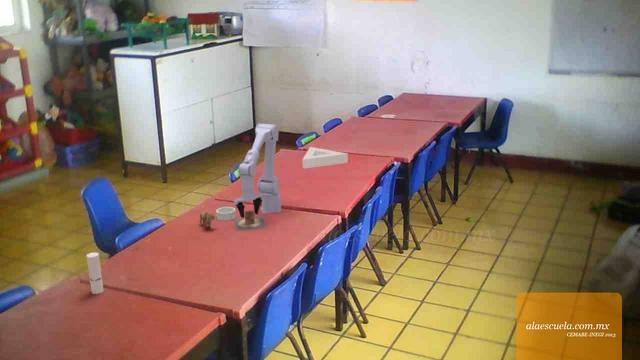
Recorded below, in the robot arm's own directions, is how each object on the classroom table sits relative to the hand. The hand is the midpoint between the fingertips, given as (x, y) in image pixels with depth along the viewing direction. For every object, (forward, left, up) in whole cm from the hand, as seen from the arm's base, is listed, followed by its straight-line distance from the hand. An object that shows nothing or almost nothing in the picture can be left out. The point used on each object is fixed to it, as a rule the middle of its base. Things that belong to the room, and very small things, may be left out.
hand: (249, 215), depth 307 cm
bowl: (+10, -12, -5) cm, 16 cm away
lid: (0, 0, -4) cm, 4 cm away
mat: (0, 0, -5) cm, 5 cm away
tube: (+65, +52, -5) cm, 83 cm away
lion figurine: (+20, -3, -5) cm, 21 cm away
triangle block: (-61, -92, -5) cm, 111 cm away
